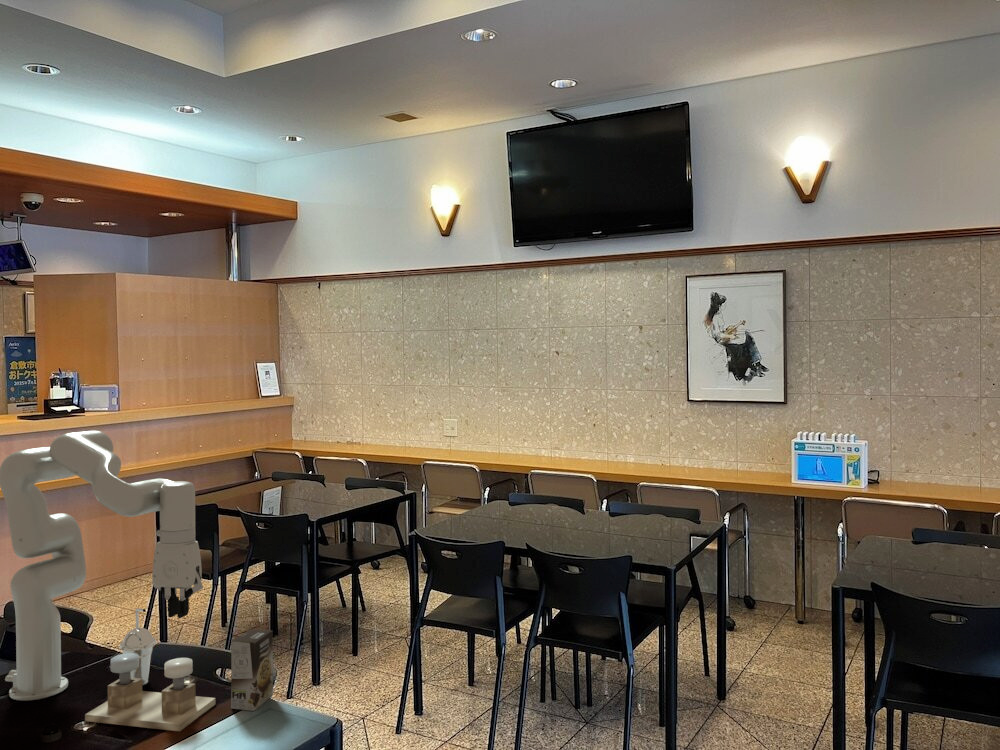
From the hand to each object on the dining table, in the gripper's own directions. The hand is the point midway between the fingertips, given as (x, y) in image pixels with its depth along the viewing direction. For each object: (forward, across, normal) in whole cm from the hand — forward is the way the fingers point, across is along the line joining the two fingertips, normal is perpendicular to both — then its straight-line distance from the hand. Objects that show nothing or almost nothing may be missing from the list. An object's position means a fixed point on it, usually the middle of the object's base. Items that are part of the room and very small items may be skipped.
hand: (178, 615), depth 181 cm
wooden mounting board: (+23, -7, 0) cm, 24 cm away
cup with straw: (+23, -21, +14) cm, 34 cm away
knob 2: (+18, 0, 0) cm, 18 cm away
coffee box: (+23, +13, +10) cm, 29 cm away
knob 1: (+18, -14, 0) cm, 23 cm away
